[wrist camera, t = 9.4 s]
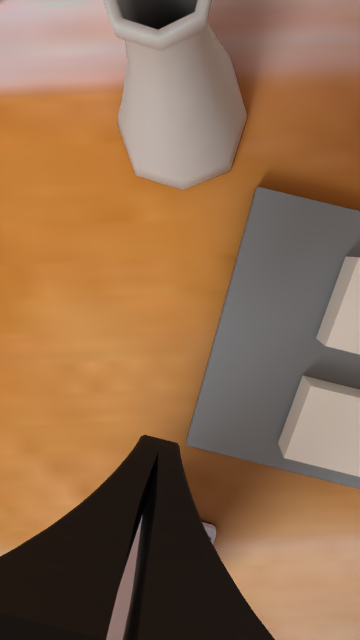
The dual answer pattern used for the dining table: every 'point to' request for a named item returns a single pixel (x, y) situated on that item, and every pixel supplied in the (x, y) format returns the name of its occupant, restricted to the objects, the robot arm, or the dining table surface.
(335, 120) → the dining table surface
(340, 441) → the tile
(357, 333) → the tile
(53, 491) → the dining table surface
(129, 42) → the flask
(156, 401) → the dining table surface
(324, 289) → the slate mat
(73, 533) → the robot arm
